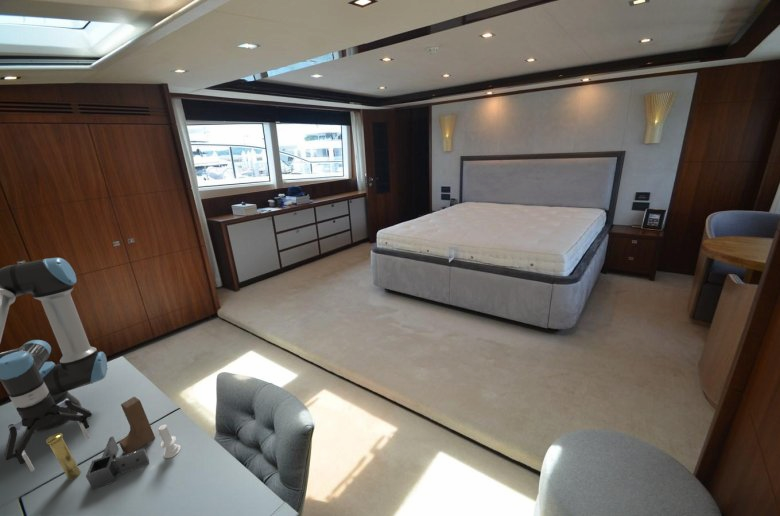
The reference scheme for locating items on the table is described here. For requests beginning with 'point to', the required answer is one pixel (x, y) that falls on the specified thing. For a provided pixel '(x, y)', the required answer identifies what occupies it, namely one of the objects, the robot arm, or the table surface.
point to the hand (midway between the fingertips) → (61, 452)
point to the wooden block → (136, 426)
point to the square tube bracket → (113, 464)
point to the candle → (168, 442)
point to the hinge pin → (63, 455)
